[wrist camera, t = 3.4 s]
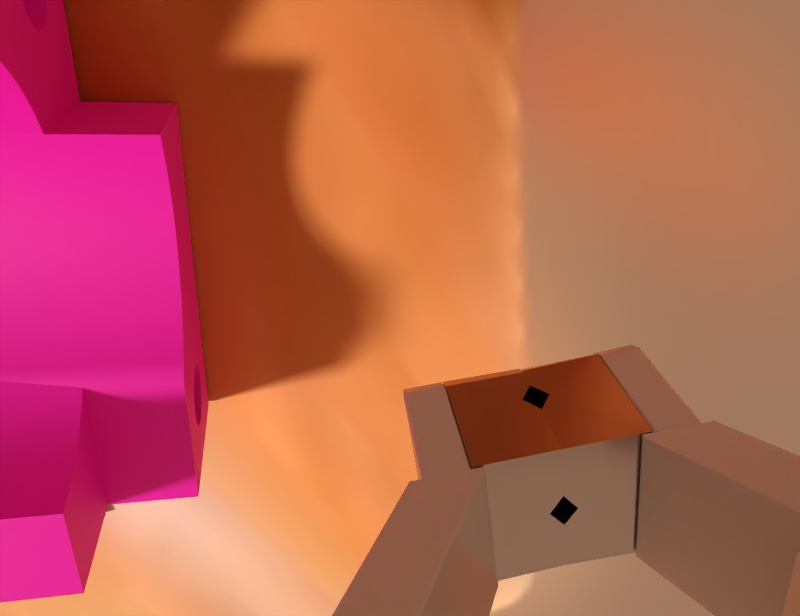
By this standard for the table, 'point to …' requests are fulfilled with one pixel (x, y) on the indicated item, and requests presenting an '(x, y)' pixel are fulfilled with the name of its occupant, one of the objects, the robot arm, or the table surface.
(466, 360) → the table surface
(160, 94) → the table surface
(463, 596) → the robot arm
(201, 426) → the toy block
